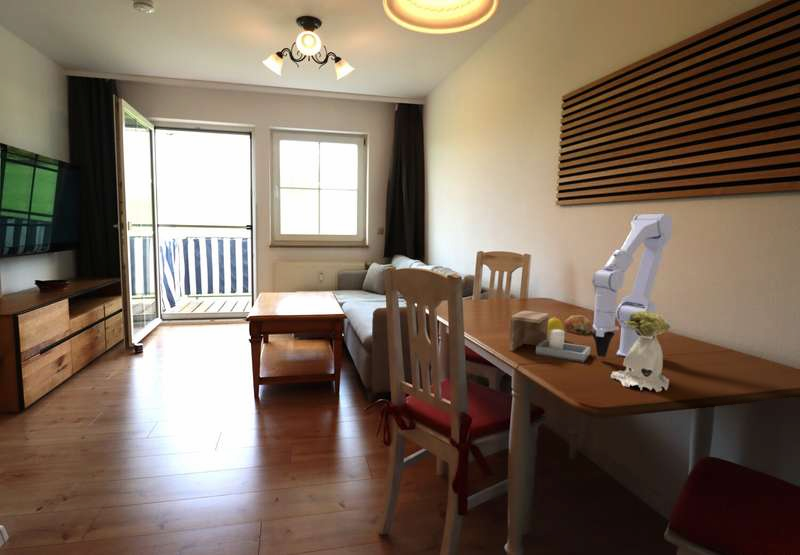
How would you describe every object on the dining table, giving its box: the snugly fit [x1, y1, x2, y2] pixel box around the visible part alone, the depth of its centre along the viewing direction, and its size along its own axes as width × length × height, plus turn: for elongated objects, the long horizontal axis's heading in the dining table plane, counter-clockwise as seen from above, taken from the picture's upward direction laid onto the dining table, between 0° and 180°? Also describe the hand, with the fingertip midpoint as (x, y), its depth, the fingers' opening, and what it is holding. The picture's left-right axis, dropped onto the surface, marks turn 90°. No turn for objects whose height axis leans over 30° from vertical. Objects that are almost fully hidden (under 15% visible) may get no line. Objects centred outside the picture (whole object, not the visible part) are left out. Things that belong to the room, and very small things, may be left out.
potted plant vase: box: [610, 311, 671, 393], centre depth 113 cm, size 12×13×18 cm
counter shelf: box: [509, 310, 550, 352], centre depth 144 cm, size 8×12×11 cm
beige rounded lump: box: [548, 329, 566, 350], centre depth 139 cm, size 4×4×6 cm
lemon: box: [548, 316, 564, 336], centre depth 157 cm, size 6×6×8 cm
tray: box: [535, 339, 591, 363], centre depth 138 cm, size 14×10×2 cm
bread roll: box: [563, 314, 593, 335], centre depth 171 cm, size 10×10×8 cm
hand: (601, 356), depth 133 cm, fingers closed
